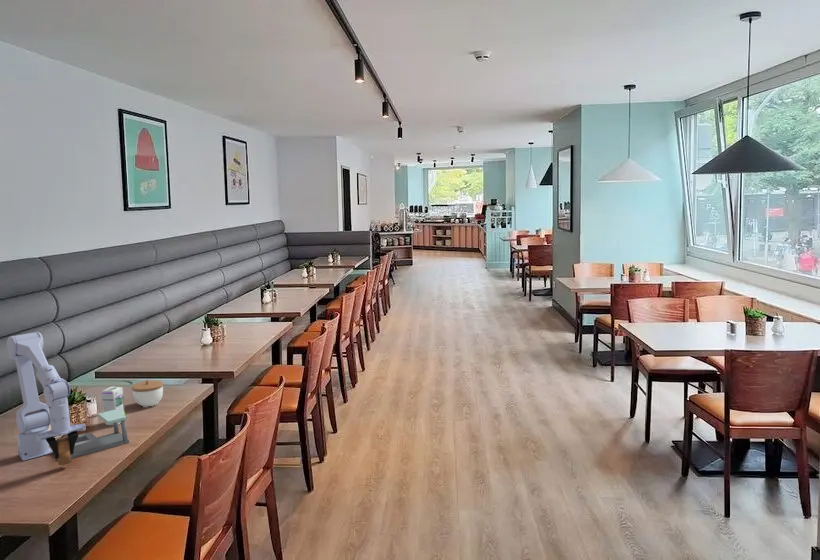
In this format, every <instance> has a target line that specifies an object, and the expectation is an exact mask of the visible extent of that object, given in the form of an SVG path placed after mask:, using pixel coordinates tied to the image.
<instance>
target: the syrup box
mask: <svg viewBox="0 0 820 560" xmlns="http://www.w3.org/2000/svg"><path fill="white" fill-rule="evenodd" d="M123 389H124V388H123V387H122V386H110V387H108V388H106V389H105V388H104V390H101V391H100V392H101V401H102V409H103V412H107V411H111V410H115V409H117V410H118V411H119V412H121V413H122V414H123V415H125V416H126V417H127V414H126V409H125V408H126V407H125V399H124V398H125V397H124V390H123ZM120 423H121V421H119V422H118V426H119V425H120ZM104 424H105V426H113V423H111V424H107V423H106V422H105V421H104Z"/></svg>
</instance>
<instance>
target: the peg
mask: <svg viewBox="0 0 820 560" xmlns="http://www.w3.org/2000/svg"><path fill="white" fill-rule="evenodd" d="M56 441H57V452H58V459H57V464H58V466H65V465H68V464H71V463H72V459H71V452H70V443H69V438H68V437H60V438H58V439H56Z"/></svg>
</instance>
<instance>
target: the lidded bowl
mask: <svg viewBox="0 0 820 560" xmlns="http://www.w3.org/2000/svg"><path fill="white" fill-rule="evenodd" d="M131 390H132V397H133V399H134V401H135V402H136V404H138V405H139V406H140V405H141V406H143V407H142V408H148V407H147V406H152V407H155V406H157V405H159V402H160V401H161V400H162V398H163V395H164V383H163V381H160V380H149V379H146V380H145V381H141V382H140V381H139V382H138V383H135V384H133V385H132V386H131ZM156 404H157V405H156ZM154 405H155V406H154ZM141 406H140V407H141Z"/></svg>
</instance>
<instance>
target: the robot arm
mask: <svg viewBox="0 0 820 560" xmlns="http://www.w3.org/2000/svg"><path fill="white" fill-rule="evenodd" d="M43 337H44V336H43V335H42V333H40V331H35V332H29V333H23V334H18V335H11V336H8V338H7V340H6V348H7V353H8V357H9V359H10V360H13V361H14V362H15V365H16V372H17V376H18V382H19V387H20V392H21V396H22V402H23V405H22V406H20V408H18V410H17V411H16V414H15V416H16V420H15V421H16V422H15V423H16V427H17V430H18V432H20V433H17V434H16V442H17V451H18V456H19V458H20V459H21V461H23V462H24V461H27V460H31V459H35V458H40V457H43V456H48V455H51V454H53V456H54V458H55V459H56V460H58V452H57V441H56V440H57V439H56V438H57V437H60V436H65V435H66V436H67V438H69V443H70V452H71V455H72V454H73V452H74V446H75V443H76V440H77V438H78V435H79V432H81V431H82V432H83V431H86V430H87V428H86V427H87V426H86V424H85V423H79V424H73V425H71V419H70V411H69V410H70V409H69V400H68V398H69V396H71V387H70V385H69V383H68V381H67V380H66V379H64V378H63V377H62V378H61V377H60V375H59V373H58V371H57V370H56V368H55V366H54V365H52V364H49V363H48V360H47V357H46V355H45V353H44V351H43V349H44V344H45V343H44V338H43ZM33 366H34V367H35V368H36V369H37V371H36V372H34V367H33ZM35 375H36V377H37V379H38V380H39V382H40V384H41V386H42V388H43V395H44V398H45V402H44V403H43V401H42V402H41V401H40V397H39V392H38V386H37V381H36V377H35ZM49 426H50V427H49ZM49 428H50V430H48V429H49Z"/></svg>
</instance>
